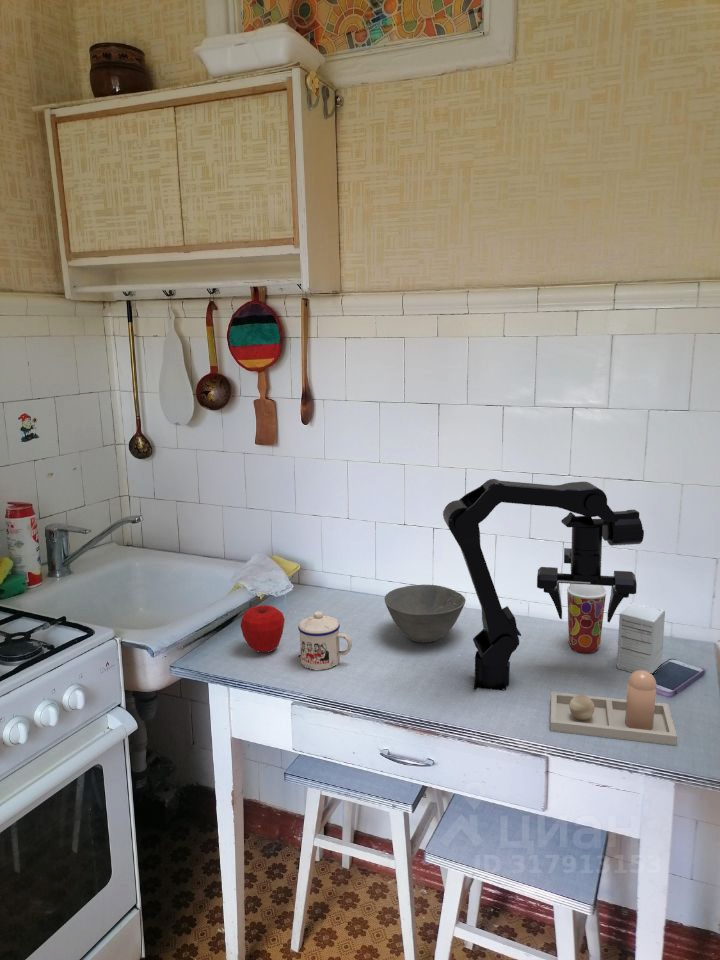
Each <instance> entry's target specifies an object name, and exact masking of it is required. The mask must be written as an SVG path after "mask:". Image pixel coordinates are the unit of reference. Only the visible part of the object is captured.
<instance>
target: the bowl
mask: <svg viewBox="0 0 720 960" xmlns="http://www.w3.org/2000/svg"><path fill="white" fill-rule="evenodd" d="M384 603H385V606H386V608H387V611H388V613H389V615H390V616H391V619H392V621H393V623H394V624H395V625H396V627H397V628H398V629H399V631H401V632H402V633H403V635H404V636H406V637H407V638H408V639H410V640H412V641H414V642H415V643H416V642H417V643H426V644H427V643H430V642H435V641H438V640H440V639H441V638H444V637H445V636H446V634H448V632H450V631H451V630H452V629H453V627H454V625H455V624H456V623H457V620H458V619H459V616H460V615H461V613H462V611H463V609H464V606H465V604H466V598H465V596H464V595H463V594H462V593H460V592H458V591H456V590H453V589H451V588H449V587H446V586H442V585H435V584H414V585H407V586H406V585H405V586H402V587H398V588H394V589H393V590H390V591H389V592H387V593H386V594H385V596H384Z"/></svg>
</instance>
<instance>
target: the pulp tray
mask: <svg viewBox="0 0 720 960" xmlns="http://www.w3.org/2000/svg"><path fill="white" fill-rule="evenodd" d="M550 693H551V696H550V730H549V731H550V732H557V733H564V734H565V733H566V734H575V735H581V736H582V735H583V736H589V737H599V738H606V739H607V738H609V739H617V740H625V741H634V742H643V743H651V744H660V745H667V746H677V743H678V742H677V740H678V734H677V731H676V728H675V724H674V721H673V717H672V714H671V710H670V705H669V704H668V703H662V702H655V711H654V723H653V729H652V730H642V729H633V728H629V727H628V726H627V725H626V724H625V714H626V700H627V699H623V698H615V697H614V698H613V697H605V696H604V697H603V696H596V695H595V696H594V695H587V694H584V695H585V696H587V697H589V698H590V699H591V700H592V702H593V704H594V713H593V715H592V716H591V717H590V718H589V719H586V720H580V719H577V718H576V717H574V716H573V715H572V713H571V711H570V702H571V700H572V698H574V697H575V696H577V695H578V694H575V693H566V692H565V693H564V692H557V691H551V692H550Z"/></svg>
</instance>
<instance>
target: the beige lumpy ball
mask: <svg viewBox="0 0 720 960" xmlns="http://www.w3.org/2000/svg"><path fill="white" fill-rule="evenodd" d="M585 695H586V694H577V696H575V697H574V698H572V700H571V702H570V711H571V713H572V715H573V716H574V717H576V718H577V719H580V720H586V719H589V718H590V717H591V716H592V715H593V713H594V704H593V702H592V700H591V699H590V698H589V697H587V696H588V695H587V696H585Z"/></svg>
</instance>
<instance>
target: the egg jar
mask: <svg viewBox="0 0 720 960" xmlns="http://www.w3.org/2000/svg"><path fill="white" fill-rule="evenodd" d="M626 686H627V688H626V689H627V690H626V699H625V700H626V714H625V724H626V725H627V726H628V727H629V728H633V729H642V730H652V729H653V723H654V711H655V703H656V698H657V697H656V696H657V681H656V679H655V676H654V675H652V674H650V673H649V672H647V671H644V670H638V671H635V672H633V673H632V672H631V673H630V675H629V677H628V679H627V685H626Z"/></svg>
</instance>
